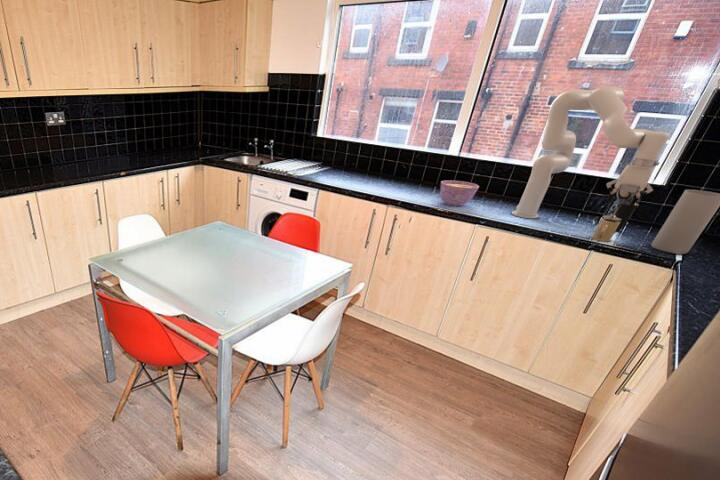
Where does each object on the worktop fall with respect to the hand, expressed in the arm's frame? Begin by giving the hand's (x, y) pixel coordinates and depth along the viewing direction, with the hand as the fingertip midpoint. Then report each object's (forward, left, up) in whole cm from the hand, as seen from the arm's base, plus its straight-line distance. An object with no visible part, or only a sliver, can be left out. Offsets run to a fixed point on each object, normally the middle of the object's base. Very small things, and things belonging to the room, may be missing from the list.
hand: (619, 204), depth 193 cm
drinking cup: (-18, +16, -17) cm, 29 cm away
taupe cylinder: (+9, +23, -17) cm, 30 cm away
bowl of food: (-50, -52, -17) cm, 74 cm away
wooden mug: (+1, -1, -16) cm, 17 cm away
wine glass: (0, 0, -6) cm, 6 cm away
